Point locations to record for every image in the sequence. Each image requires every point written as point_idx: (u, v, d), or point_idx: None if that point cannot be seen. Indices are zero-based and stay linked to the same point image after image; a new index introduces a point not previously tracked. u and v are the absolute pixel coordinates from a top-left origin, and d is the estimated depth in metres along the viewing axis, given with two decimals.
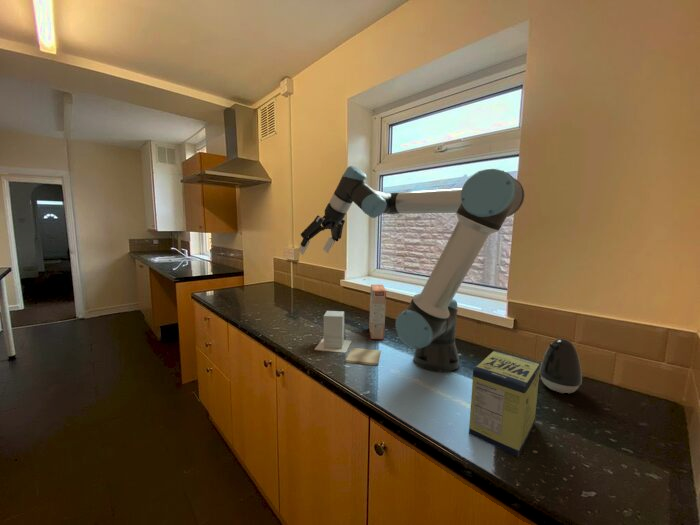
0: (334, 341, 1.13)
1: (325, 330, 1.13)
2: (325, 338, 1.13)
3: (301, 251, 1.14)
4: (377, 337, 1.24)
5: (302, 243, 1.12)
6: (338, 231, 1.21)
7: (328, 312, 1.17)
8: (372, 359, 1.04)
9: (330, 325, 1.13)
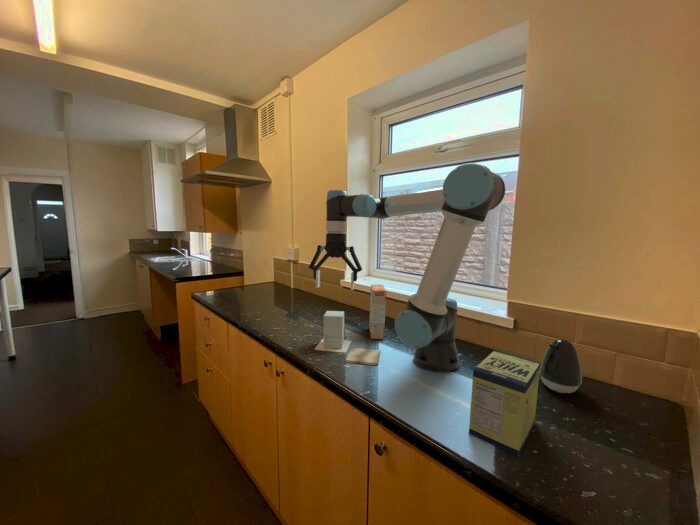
0: (334, 341, 1.13)
1: (325, 330, 1.13)
2: (325, 338, 1.13)
3: None
4: (377, 337, 1.24)
5: None
6: None
7: (328, 312, 1.17)
8: (372, 359, 1.04)
9: (330, 325, 1.13)
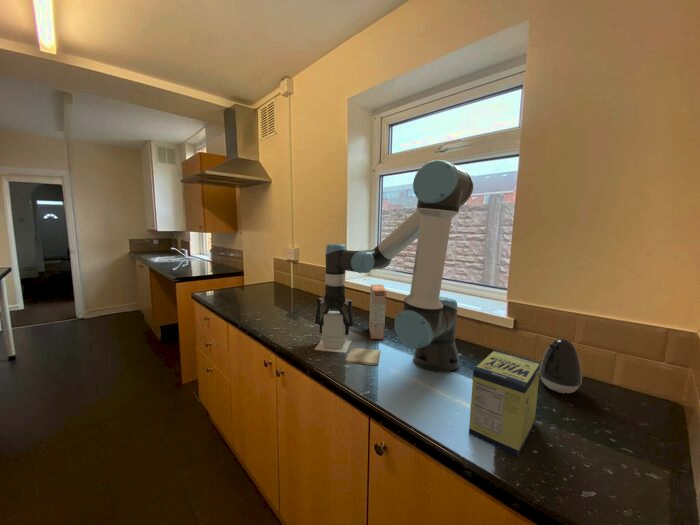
0: (334, 341, 1.13)
1: (325, 330, 1.13)
2: (325, 338, 1.13)
3: None
4: (377, 337, 1.24)
5: None
6: None
7: (328, 312, 1.17)
8: (372, 359, 1.04)
9: (330, 325, 1.13)
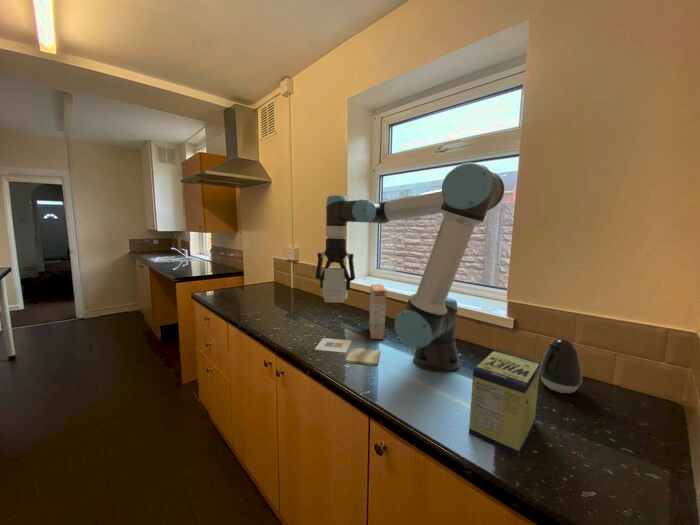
0: (335, 295, 1.11)
1: (326, 284, 1.11)
2: (326, 292, 1.11)
3: None
4: (377, 337, 1.24)
5: None
6: None
7: (329, 267, 1.15)
8: (372, 359, 1.04)
9: (331, 279, 1.11)
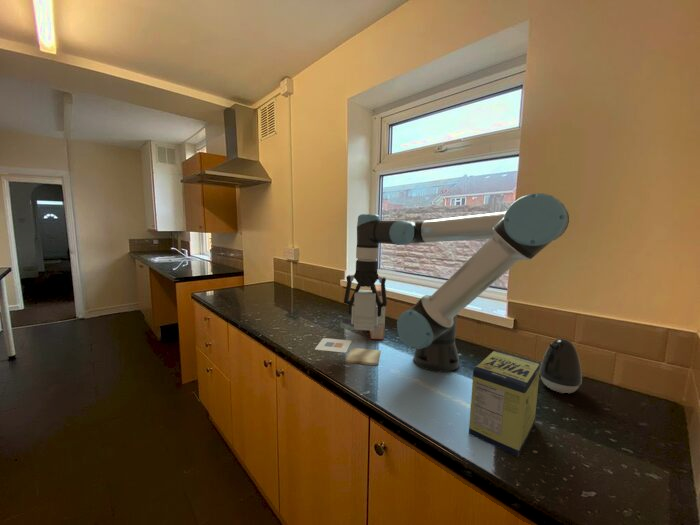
0: (365, 323, 1.02)
1: (356, 310, 1.02)
2: (356, 319, 1.02)
3: None
4: (377, 337, 1.24)
5: (349, 310, 1.06)
6: (382, 295, 1.03)
7: (358, 291, 1.06)
8: (372, 359, 1.04)
9: (361, 305, 1.01)
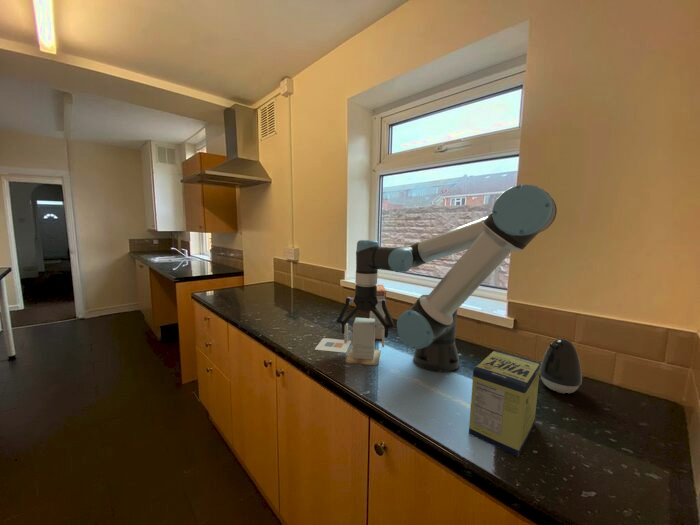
0: (364, 352, 1.03)
1: (354, 339, 1.03)
2: (354, 348, 1.03)
3: None
4: (377, 337, 1.24)
5: (342, 329, 1.07)
6: None
7: (357, 319, 1.07)
8: None
9: (360, 334, 1.02)
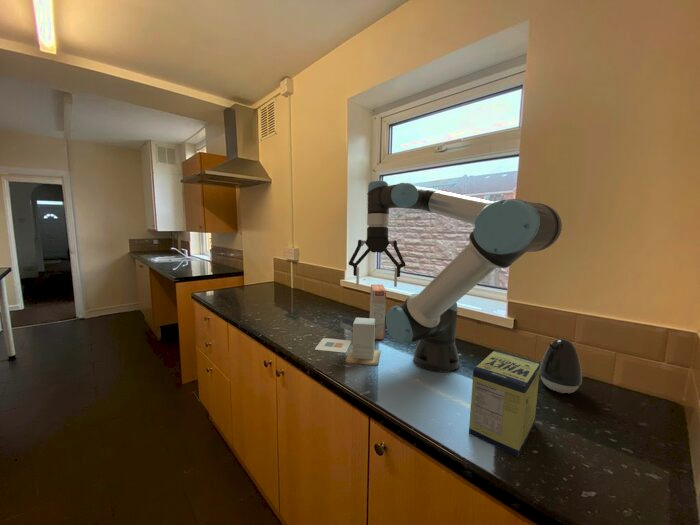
0: (364, 352, 1.03)
1: (354, 339, 1.03)
2: (354, 348, 1.03)
3: None
4: (377, 337, 1.24)
5: None
6: (398, 257, 1.06)
7: (357, 319, 1.07)
8: None
9: (360, 334, 1.02)
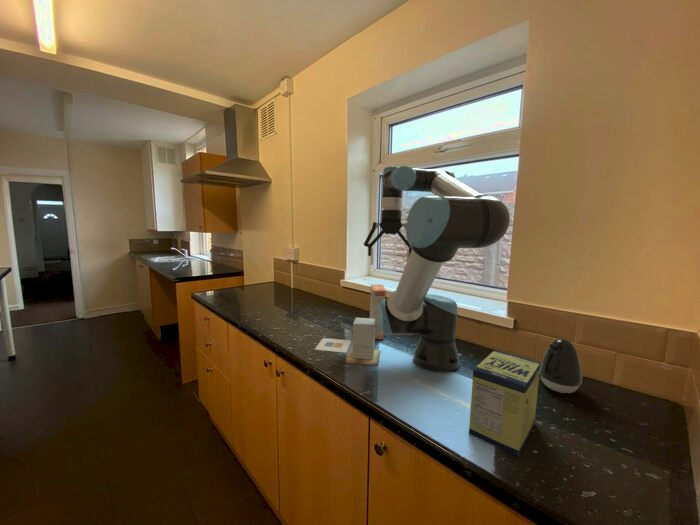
0: (364, 352, 1.03)
1: (354, 339, 1.03)
2: (354, 348, 1.03)
3: None
4: (377, 337, 1.24)
5: (368, 252, 1.17)
6: None
7: (357, 319, 1.07)
8: None
9: (360, 334, 1.02)
